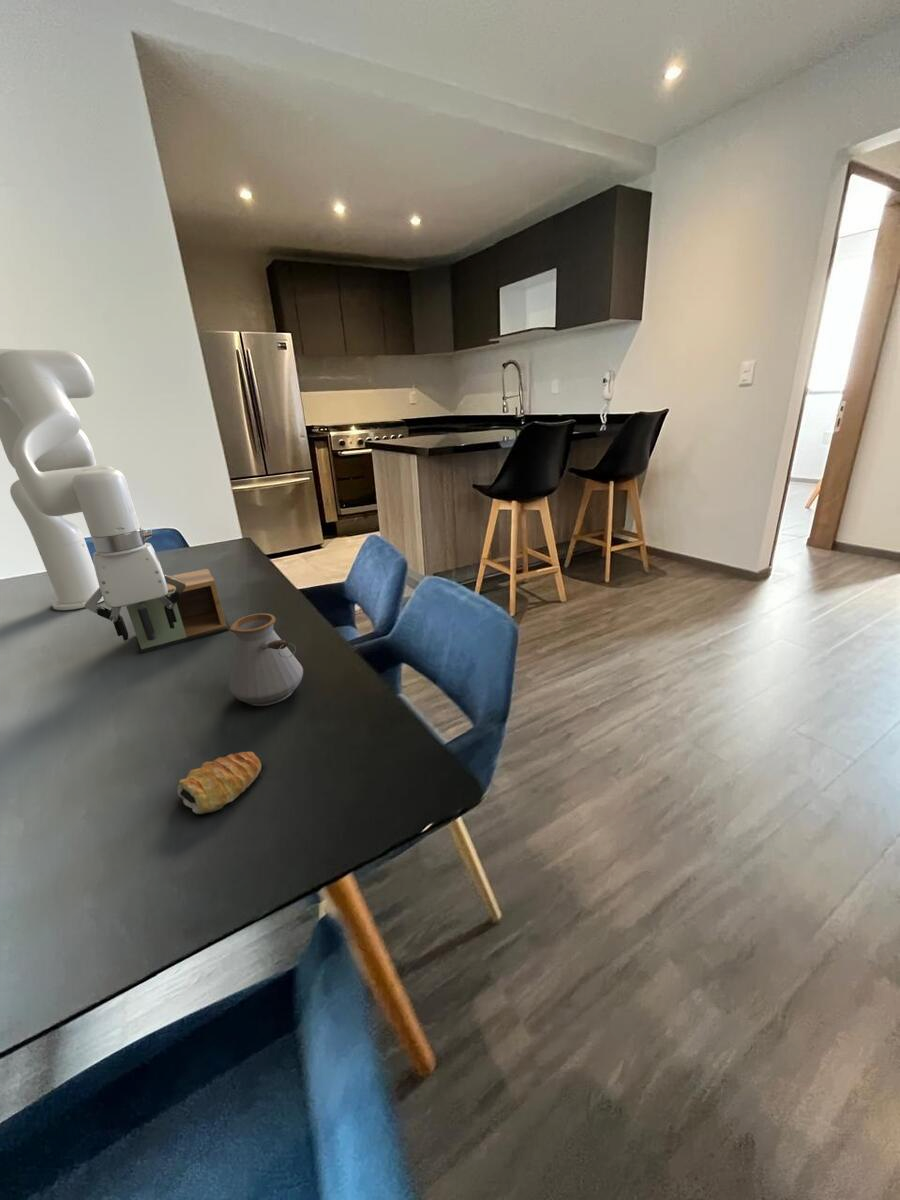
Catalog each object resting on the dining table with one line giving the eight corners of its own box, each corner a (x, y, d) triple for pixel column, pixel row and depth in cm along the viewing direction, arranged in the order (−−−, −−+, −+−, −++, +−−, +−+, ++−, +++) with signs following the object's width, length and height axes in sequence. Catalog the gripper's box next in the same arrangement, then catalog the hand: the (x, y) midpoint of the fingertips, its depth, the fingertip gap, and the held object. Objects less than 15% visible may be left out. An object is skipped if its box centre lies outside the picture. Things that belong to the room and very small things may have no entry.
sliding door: (189, 645, 97) (175, 598, 93) (141, 658, 93) (125, 610, 90) (186, 636, 101) (173, 591, 97) (141, 648, 97) (125, 602, 93)
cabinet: (228, 630, 104) (215, 581, 100) (142, 652, 97) (124, 601, 93) (219, 613, 113) (207, 568, 109) (140, 632, 106) (124, 585, 101)
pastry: (243, 755, 66) (237, 732, 65) (274, 774, 63) (268, 750, 61) (174, 801, 59) (166, 776, 58) (205, 825, 56) (197, 799, 54)
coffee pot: (224, 691, 82) (201, 609, 76) (291, 666, 88) (274, 589, 82) (266, 757, 66) (241, 659, 60) (344, 721, 72) (328, 630, 66)
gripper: (172, 528, 94) (196, 613, 101) (61, 547, 86) (96, 638, 92) (176, 536, 88) (201, 626, 95) (57, 557, 80) (94, 653, 86)
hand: (149, 631), depth 93 cm, fingers open, 7 cm apart
